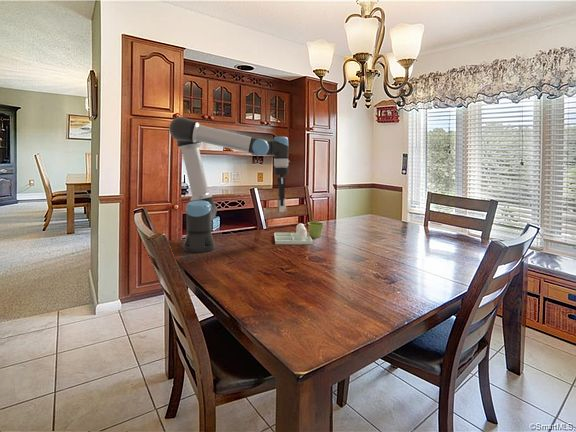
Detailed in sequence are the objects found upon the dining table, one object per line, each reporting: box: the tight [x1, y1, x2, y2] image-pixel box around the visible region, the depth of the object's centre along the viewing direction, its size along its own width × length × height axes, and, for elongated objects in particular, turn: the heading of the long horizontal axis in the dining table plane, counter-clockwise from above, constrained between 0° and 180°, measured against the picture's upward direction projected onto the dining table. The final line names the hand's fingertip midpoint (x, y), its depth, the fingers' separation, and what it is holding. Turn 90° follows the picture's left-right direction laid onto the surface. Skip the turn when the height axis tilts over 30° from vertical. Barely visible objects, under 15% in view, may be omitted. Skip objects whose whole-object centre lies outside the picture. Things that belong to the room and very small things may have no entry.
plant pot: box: [307, 221, 325, 239], centre depth 199 cm, size 9×9×9 cm
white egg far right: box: [298, 226, 308, 241], centre depth 186 cm, size 5×5×8 cm
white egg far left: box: [295, 223, 305, 236], centre depth 195 cm, size 5×5×8 cm
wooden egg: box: [276, 196, 287, 213], centre depth 183 cm, size 5×5×8 cm
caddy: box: [273, 232, 314, 245], centre depth 191 cm, size 20×20×3 cm
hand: (281, 210), depth 184 cm, fingers closed on wooden egg, 4 cm apart
